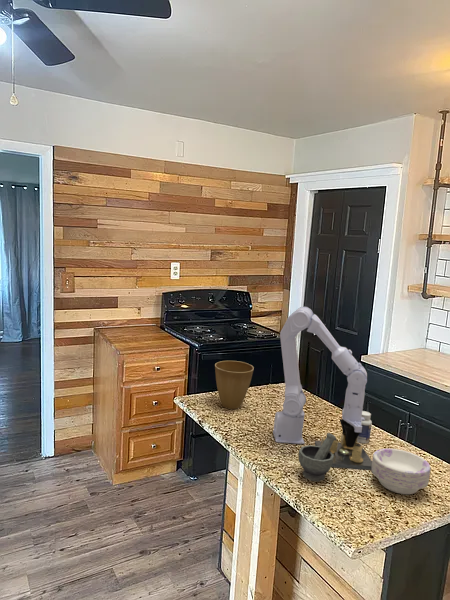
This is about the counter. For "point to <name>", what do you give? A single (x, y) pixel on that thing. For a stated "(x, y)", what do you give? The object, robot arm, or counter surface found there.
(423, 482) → the paper bowls
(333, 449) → the knob left
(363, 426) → the pill bottle
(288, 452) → the counter surface
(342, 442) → the knob far
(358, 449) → the knob near
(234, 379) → the plant pot
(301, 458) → the mortar and pestle
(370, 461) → the base plate
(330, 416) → the counter surface
